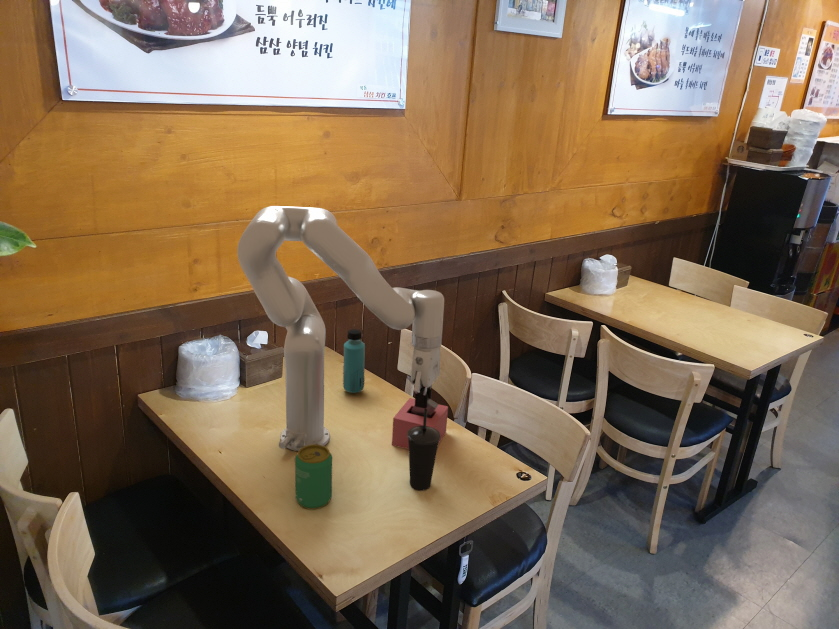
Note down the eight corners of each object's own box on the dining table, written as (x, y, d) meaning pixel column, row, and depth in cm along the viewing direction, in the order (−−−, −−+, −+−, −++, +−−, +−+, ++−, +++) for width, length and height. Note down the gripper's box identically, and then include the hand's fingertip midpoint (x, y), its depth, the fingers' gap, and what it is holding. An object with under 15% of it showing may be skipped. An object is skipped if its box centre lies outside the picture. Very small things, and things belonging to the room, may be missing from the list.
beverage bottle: (360, 398, 184) (362, 336, 177) (339, 395, 185) (340, 333, 178) (366, 389, 190) (369, 328, 183) (346, 386, 191) (347, 325, 184)
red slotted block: (431, 455, 158) (433, 427, 156) (391, 444, 162) (393, 417, 159) (445, 432, 169) (448, 406, 166) (408, 423, 172) (409, 397, 170)
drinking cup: (413, 497, 142) (418, 420, 135) (398, 479, 148) (402, 404, 141) (442, 489, 145) (448, 414, 138) (426, 472, 151) (432, 399, 144)
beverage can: (337, 503, 138) (338, 457, 134) (304, 514, 134) (303, 467, 130) (322, 484, 144) (322, 439, 140) (289, 494, 140) (289, 448, 136)
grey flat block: (435, 408, 160) (419, 397, 160) (426, 422, 162) (410, 411, 162) (438, 404, 162) (422, 393, 162) (429, 417, 164) (414, 407, 164)
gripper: (430, 353, 147) (426, 422, 154) (450, 331, 161) (445, 394, 168) (401, 348, 150) (398, 415, 156) (423, 326, 164) (419, 389, 170)
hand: (422, 404), depth 162 cm, fingers closed on grey flat block, 2 cm apart
